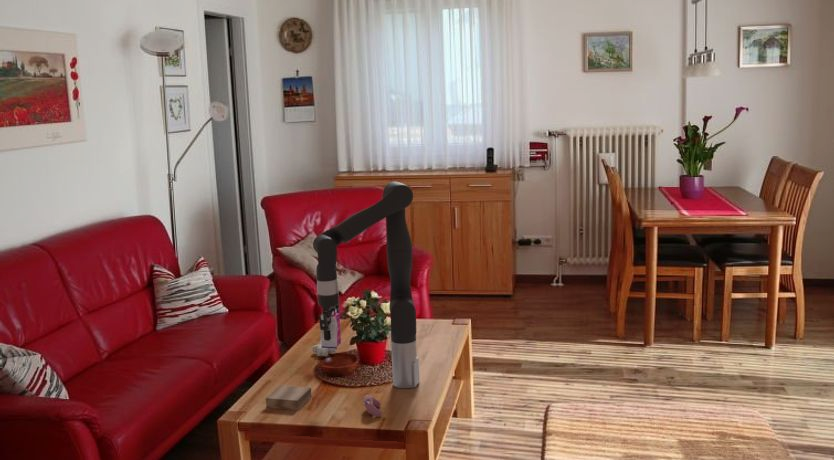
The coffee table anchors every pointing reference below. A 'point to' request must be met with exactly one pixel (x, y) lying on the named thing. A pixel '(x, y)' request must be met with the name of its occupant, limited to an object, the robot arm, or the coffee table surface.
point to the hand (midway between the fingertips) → (331, 337)
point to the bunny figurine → (322, 350)
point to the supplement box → (332, 333)
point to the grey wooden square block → (288, 397)
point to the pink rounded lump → (372, 405)
